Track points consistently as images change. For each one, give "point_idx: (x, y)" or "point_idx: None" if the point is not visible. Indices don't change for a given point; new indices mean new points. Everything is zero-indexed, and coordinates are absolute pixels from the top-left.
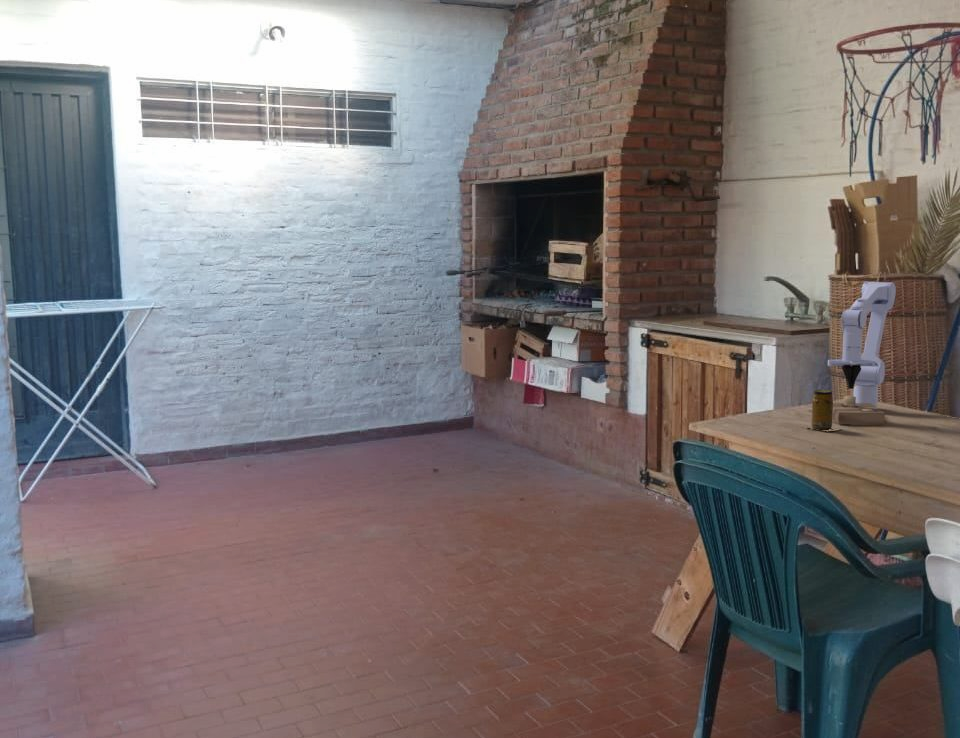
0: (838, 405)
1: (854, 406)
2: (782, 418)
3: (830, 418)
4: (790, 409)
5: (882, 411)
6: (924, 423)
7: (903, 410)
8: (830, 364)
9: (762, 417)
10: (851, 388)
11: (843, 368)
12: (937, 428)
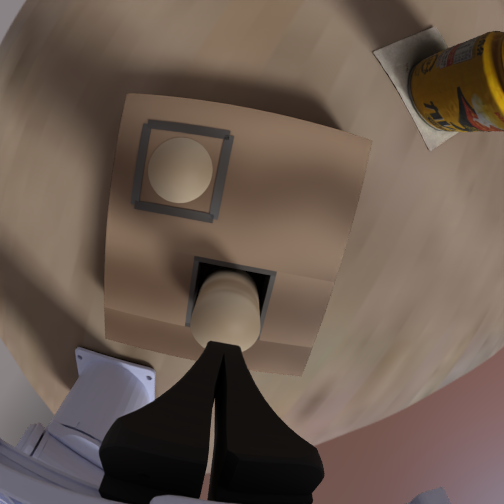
0: (278, 321)
1: (211, 278)
2: (465, 297)
3: (446, 49)
4: (357, 421)
5: (120, 129)
6: (7, 144)
7: (20, 352)
8: (440, 502)
9: (495, 315)
10: (221, 343)
11: (303, 493)
12: (13, 63)
